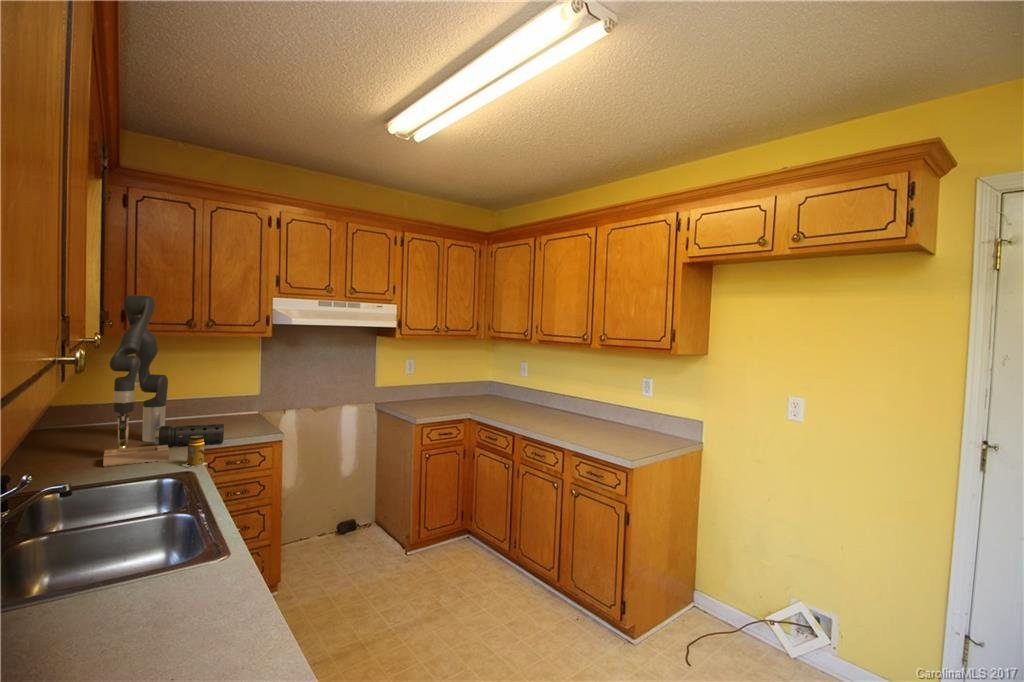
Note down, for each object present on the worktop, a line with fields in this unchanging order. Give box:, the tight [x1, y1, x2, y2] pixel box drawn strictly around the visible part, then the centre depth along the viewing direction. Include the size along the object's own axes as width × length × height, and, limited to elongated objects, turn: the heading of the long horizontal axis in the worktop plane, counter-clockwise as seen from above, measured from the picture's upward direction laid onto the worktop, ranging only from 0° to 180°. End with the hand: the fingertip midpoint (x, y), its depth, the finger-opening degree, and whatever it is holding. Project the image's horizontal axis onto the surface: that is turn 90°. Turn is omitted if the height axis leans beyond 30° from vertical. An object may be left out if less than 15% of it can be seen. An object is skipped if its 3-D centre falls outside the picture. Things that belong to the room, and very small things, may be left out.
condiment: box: [186, 435, 208, 468], centre depth 210 cm, size 7×8×12 cm
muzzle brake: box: [154, 423, 225, 448], centre depth 241 cm, size 10×28×10 cm, turn 120°
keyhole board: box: [102, 445, 170, 467], centre depth 212 cm, size 12×22×4 cm, turn 128°
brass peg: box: [117, 424, 130, 449], centre depth 216 cm, size 5×5×14 cm
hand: (122, 437), depth 216 cm, fingers open, 8 cm apart
